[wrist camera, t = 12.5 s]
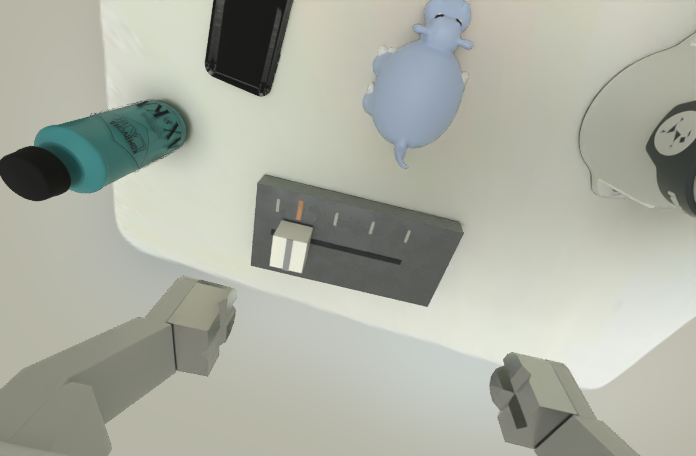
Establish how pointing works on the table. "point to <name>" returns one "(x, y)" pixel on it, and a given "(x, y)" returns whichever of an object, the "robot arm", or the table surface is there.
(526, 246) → the table surface
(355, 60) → the table surface
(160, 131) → the beverage bottle
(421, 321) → the table surface
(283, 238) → the fader knob
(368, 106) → the hippopotamus toy
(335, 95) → the table surface
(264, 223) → the fader panel
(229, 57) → the phone
